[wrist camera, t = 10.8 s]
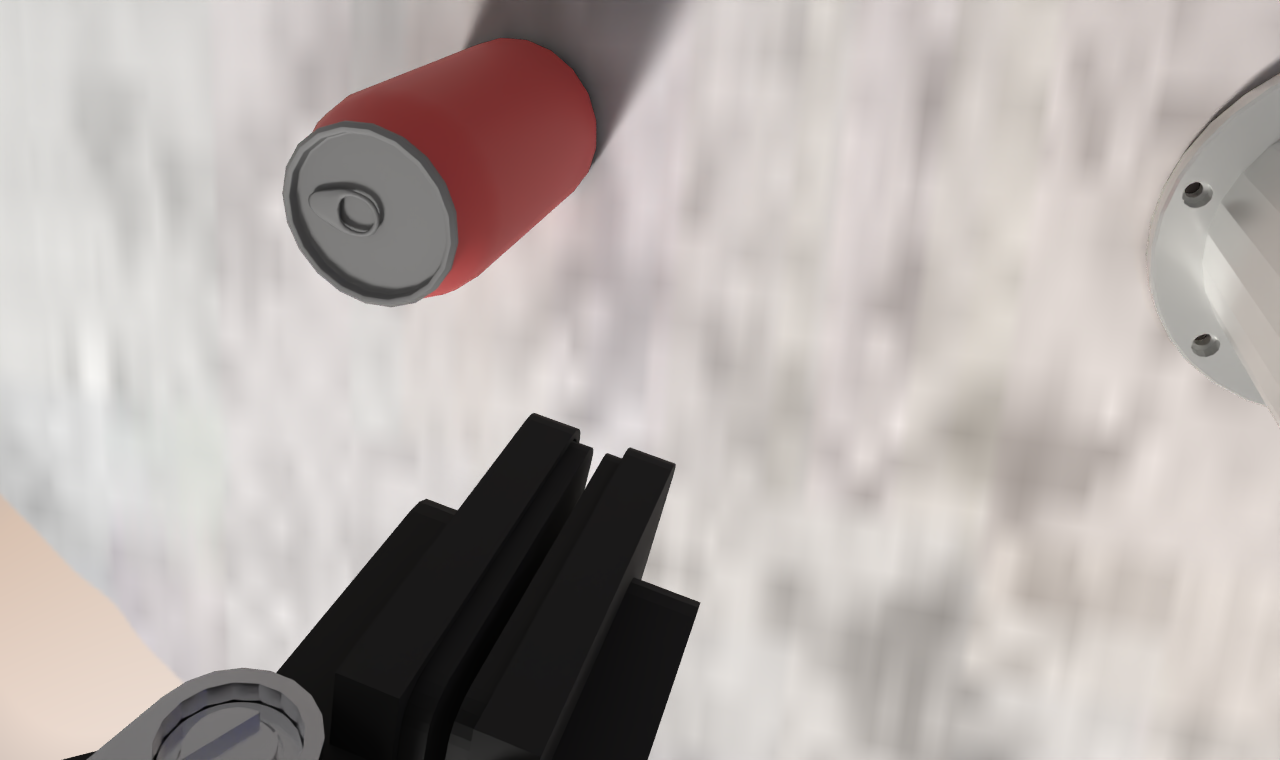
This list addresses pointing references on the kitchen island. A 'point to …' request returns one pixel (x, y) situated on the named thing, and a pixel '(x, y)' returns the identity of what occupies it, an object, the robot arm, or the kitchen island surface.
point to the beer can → (438, 170)
